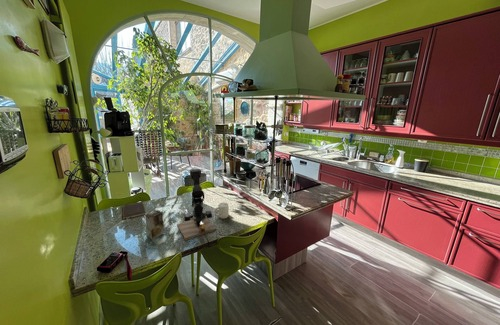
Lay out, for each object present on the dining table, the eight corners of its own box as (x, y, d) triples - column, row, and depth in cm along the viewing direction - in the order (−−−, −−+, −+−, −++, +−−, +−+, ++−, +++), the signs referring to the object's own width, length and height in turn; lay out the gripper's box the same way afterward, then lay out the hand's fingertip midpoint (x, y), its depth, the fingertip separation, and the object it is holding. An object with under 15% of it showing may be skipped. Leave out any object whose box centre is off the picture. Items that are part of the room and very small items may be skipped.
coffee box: (160, 229, 145) (158, 209, 141) (164, 233, 142) (162, 212, 137) (147, 235, 139) (144, 214, 134) (151, 239, 135) (149, 217, 131)
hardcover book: (143, 204, 185) (142, 201, 185) (145, 215, 166) (145, 212, 166) (122, 208, 177) (122, 205, 176) (122, 220, 158) (122, 217, 157)
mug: (215, 220, 159) (214, 208, 157) (212, 215, 167) (212, 204, 164) (229, 217, 164) (229, 206, 161) (226, 213, 171) (226, 201, 169)
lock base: (177, 226, 151) (177, 224, 150) (205, 217, 163) (205, 216, 162) (185, 240, 135) (185, 238, 134) (215, 230, 147) (215, 228, 146)
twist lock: (193, 221, 154) (193, 216, 153) (200, 219, 156) (200, 214, 155) (199, 231, 141) (199, 226, 140) (206, 229, 144) (206, 224, 142)
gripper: (184, 213, 130) (185, 235, 134) (213, 210, 136) (213, 230, 140) (183, 206, 140) (184, 226, 144) (210, 203, 146) (210, 222, 150)
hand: (198, 226), depth 144 cm, fingers closed
